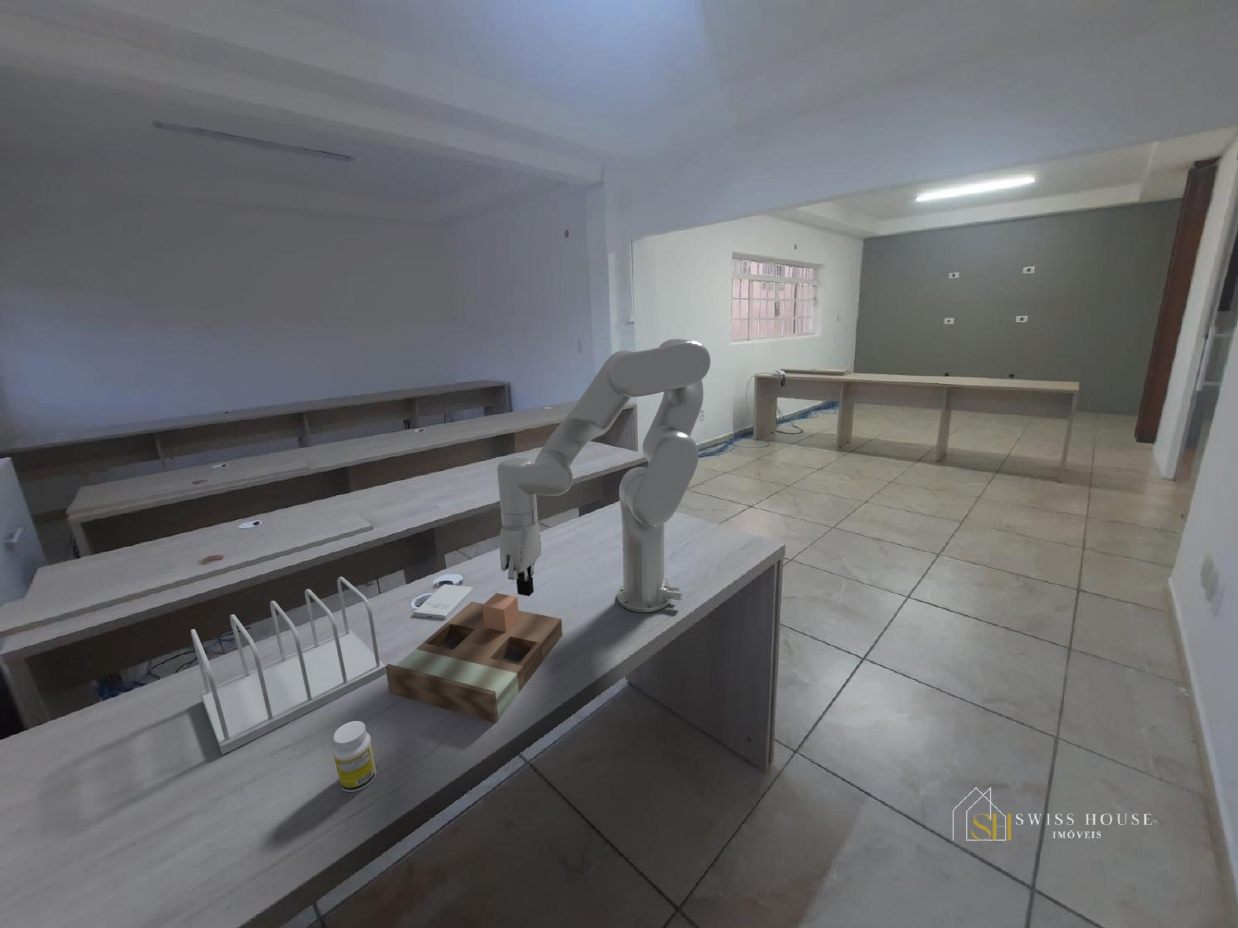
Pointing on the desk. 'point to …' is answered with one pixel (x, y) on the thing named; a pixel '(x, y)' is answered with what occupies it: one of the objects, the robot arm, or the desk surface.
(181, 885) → the desk surface
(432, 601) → the external hard drive
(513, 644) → the box
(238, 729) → the file sorter
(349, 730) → the supplement bottle
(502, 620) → the block
